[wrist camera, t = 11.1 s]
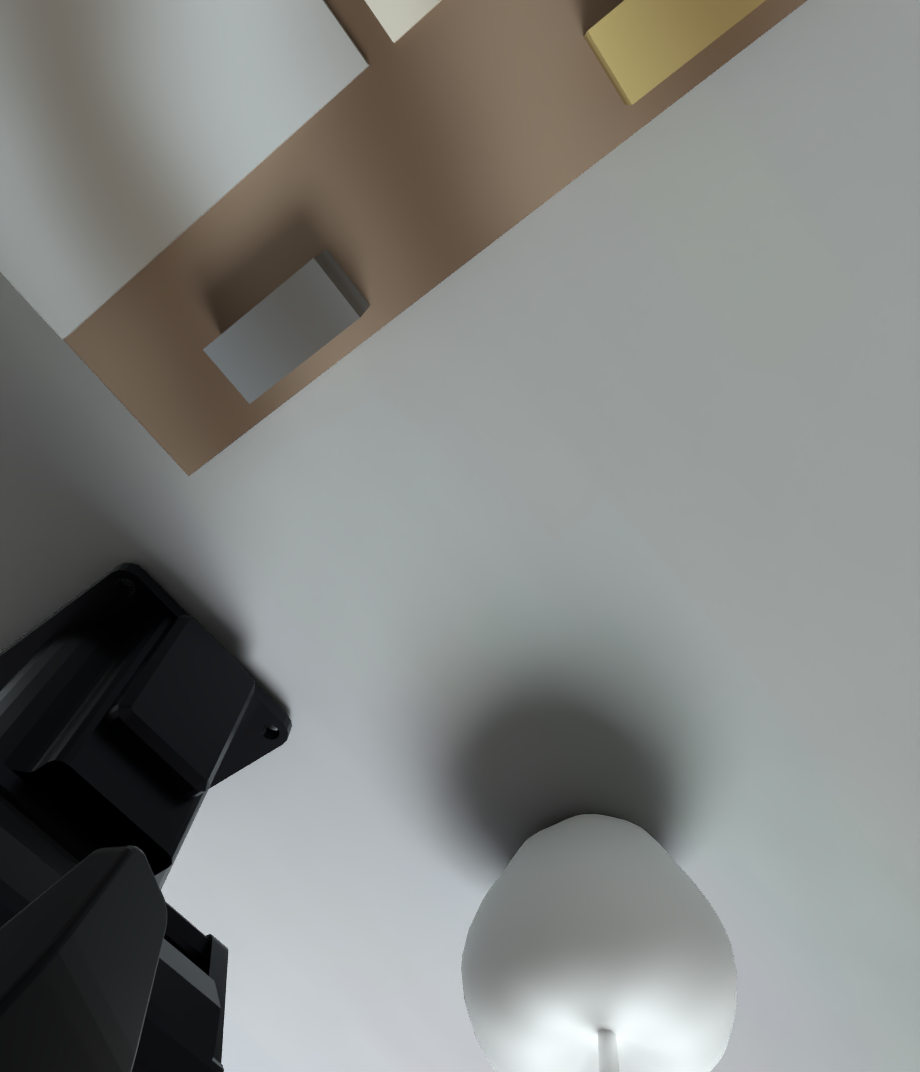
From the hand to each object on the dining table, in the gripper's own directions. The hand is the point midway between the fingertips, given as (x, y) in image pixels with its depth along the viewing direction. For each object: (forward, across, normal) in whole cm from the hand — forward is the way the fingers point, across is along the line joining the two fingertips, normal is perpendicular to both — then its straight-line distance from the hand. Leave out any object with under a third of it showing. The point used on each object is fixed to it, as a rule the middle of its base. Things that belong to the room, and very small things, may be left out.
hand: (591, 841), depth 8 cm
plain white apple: (+13, +1, +14) cm, 19 cm away
